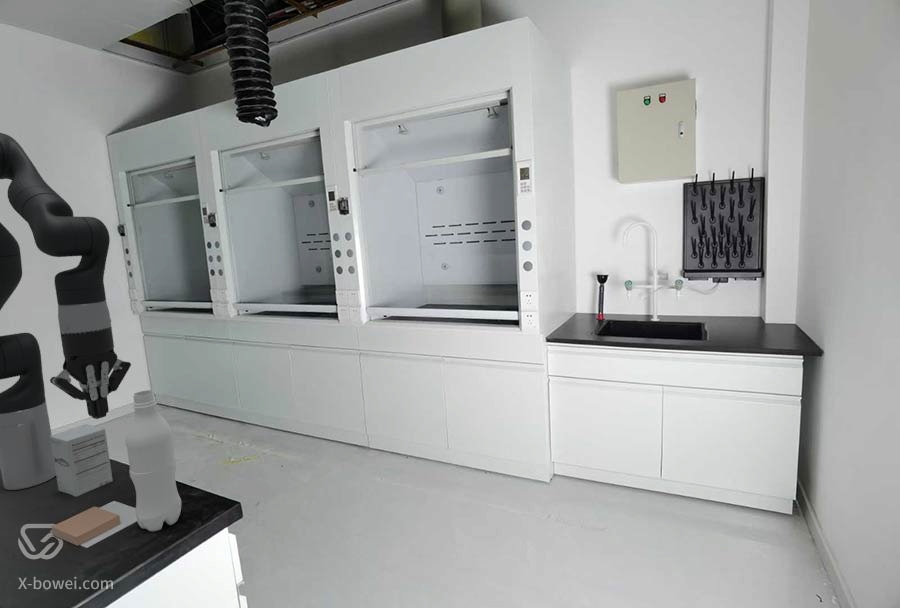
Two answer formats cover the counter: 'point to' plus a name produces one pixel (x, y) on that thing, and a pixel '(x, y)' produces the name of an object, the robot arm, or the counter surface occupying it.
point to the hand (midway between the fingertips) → (99, 417)
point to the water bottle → (152, 465)
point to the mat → (126, 519)
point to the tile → (85, 525)
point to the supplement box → (81, 459)
